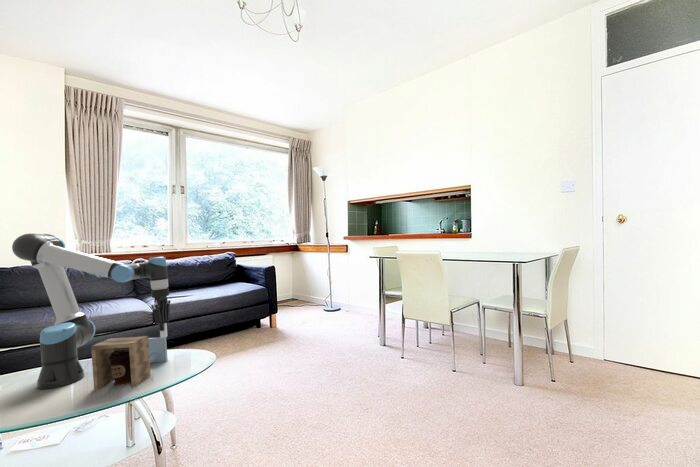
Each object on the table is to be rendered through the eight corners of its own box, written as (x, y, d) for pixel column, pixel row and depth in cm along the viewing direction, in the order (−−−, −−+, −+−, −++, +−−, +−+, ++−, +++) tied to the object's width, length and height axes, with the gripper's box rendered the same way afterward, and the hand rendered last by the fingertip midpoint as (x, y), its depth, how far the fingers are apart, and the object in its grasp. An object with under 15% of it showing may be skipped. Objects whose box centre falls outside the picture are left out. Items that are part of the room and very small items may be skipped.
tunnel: (112, 380, 142) (109, 338, 142) (150, 377, 142) (148, 335, 142) (94, 390, 132) (91, 346, 132) (135, 387, 132) (132, 343, 132)
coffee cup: (123, 388, 131) (120, 354, 132) (104, 388, 133) (102, 354, 133) (141, 379, 140) (139, 347, 140) (123, 379, 142) (121, 347, 142)
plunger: (145, 362, 160) (143, 338, 160) (168, 360, 160) (167, 336, 160) (119, 377, 142) (117, 351, 142) (145, 375, 142) (143, 349, 142)
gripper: (159, 287, 174) (163, 333, 173) (144, 291, 161) (148, 341, 160) (174, 285, 174) (178, 332, 173) (160, 289, 161) (164, 340, 160)
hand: (164, 336), depth 167 cm, fingers closed
